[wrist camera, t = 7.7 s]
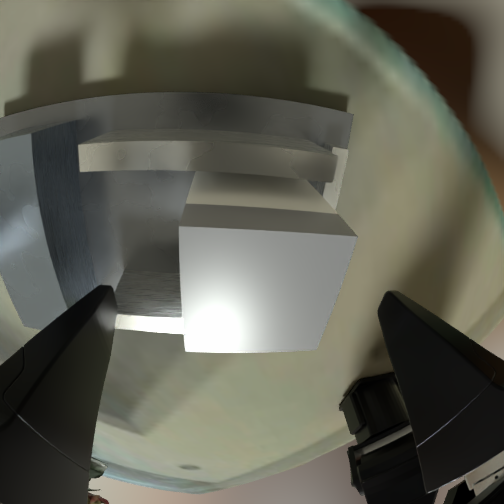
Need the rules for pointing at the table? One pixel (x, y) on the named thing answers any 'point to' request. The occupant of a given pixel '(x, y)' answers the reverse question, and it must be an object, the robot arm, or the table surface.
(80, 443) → the robot arm
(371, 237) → the table surface
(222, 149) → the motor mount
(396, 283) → the table surface
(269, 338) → the grey rectangular block
